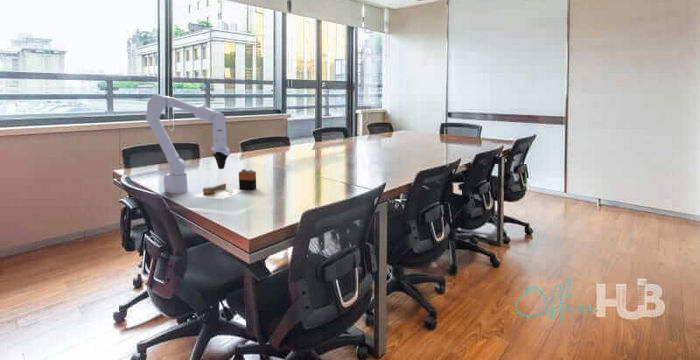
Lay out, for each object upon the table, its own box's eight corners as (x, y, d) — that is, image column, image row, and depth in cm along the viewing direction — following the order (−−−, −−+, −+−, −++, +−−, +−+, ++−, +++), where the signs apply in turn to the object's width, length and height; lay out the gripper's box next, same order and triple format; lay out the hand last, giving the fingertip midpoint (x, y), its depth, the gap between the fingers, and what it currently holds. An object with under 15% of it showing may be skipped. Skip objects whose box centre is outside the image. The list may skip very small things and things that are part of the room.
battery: (243, 189, 201) (242, 168, 199) (256, 190, 200) (256, 169, 198) (239, 191, 197) (238, 170, 195) (252, 192, 196) (251, 171, 194)
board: (192, 198, 184) (192, 195, 184) (216, 189, 200) (216, 187, 200) (223, 201, 180) (222, 198, 180) (244, 192, 196) (244, 189, 195)
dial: (209, 195, 185) (209, 190, 185) (200, 194, 187) (200, 188, 187) (229, 189, 197) (229, 183, 196) (220, 188, 199) (220, 182, 198)
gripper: (235, 140, 190) (236, 170, 193) (220, 136, 201) (222, 165, 204) (220, 141, 186) (222, 172, 188) (206, 138, 196) (208, 167, 199)
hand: (221, 168), depth 196 cm, fingers closed
